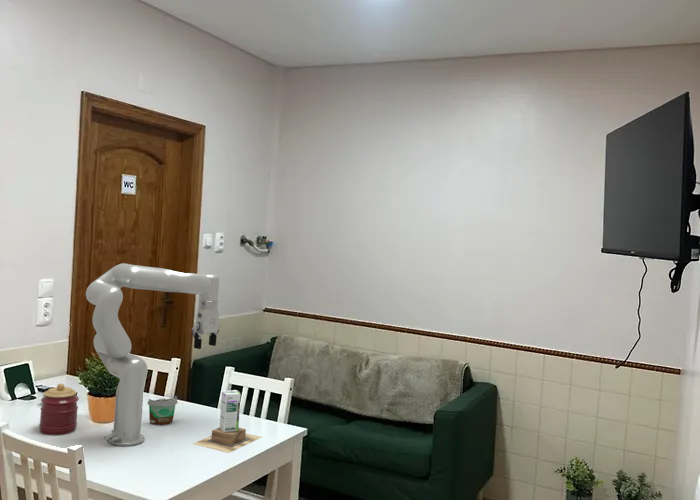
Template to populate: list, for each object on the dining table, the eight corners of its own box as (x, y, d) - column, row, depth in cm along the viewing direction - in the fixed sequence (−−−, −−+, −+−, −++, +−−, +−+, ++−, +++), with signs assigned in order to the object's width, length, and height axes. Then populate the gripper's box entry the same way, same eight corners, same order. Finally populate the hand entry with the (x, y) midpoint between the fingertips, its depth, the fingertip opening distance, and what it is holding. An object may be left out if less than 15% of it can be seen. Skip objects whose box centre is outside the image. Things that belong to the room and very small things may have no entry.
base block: (231, 446, 236) (232, 435, 236) (211, 441, 240) (212, 430, 240) (245, 439, 244) (245, 429, 244) (225, 434, 248) (226, 424, 248)
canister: (31, 429, 240) (34, 383, 240) (62, 422, 251) (65, 377, 251) (52, 438, 234) (55, 389, 233) (83, 430, 245) (87, 384, 244)
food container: (152, 427, 253) (154, 402, 253) (146, 423, 258) (147, 398, 258) (181, 423, 261) (183, 399, 261) (174, 419, 266) (176, 395, 266)
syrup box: (223, 432, 238) (226, 394, 238) (219, 427, 243) (221, 389, 243) (238, 431, 241) (241, 393, 240) (233, 426, 246) (236, 389, 246)
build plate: (228, 456, 229) (229, 452, 229) (192, 447, 235) (192, 442, 235) (261, 440, 249) (262, 436, 249) (227, 431, 255) (227, 428, 255)
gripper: (202, 307, 249) (199, 351, 250) (228, 304, 265) (225, 345, 265) (186, 305, 252) (183, 348, 253) (213, 302, 268) (210, 342, 268)
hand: (204, 346), depth 259 cm, fingers open, 9 cm apart
